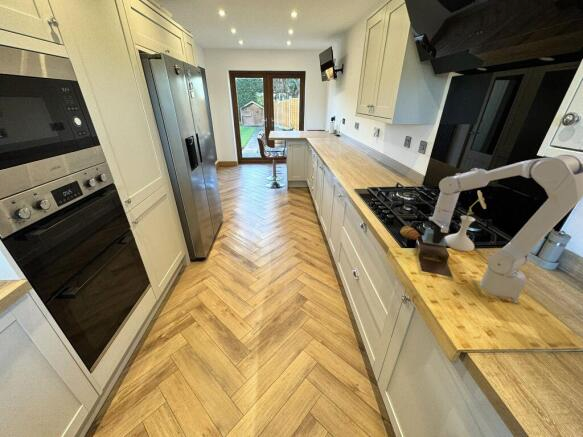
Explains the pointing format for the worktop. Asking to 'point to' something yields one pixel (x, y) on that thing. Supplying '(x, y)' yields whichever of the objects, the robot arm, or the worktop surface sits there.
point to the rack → (433, 265)
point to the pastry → (409, 233)
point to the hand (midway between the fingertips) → (434, 240)
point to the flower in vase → (464, 231)
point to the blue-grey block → (429, 238)
